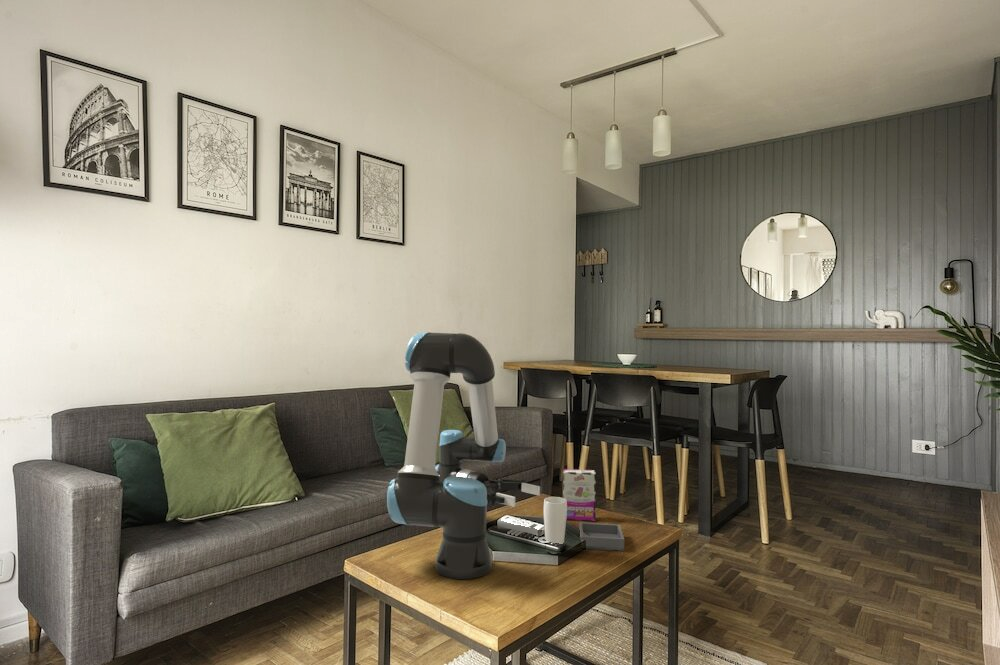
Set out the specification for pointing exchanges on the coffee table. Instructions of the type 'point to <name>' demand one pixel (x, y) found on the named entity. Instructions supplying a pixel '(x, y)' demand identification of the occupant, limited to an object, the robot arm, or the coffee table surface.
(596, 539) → the tray
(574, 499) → the candy bar box
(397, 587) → the coffee table surface
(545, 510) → the white cup
